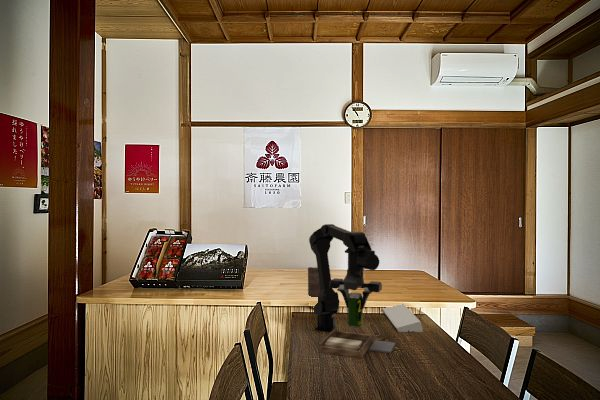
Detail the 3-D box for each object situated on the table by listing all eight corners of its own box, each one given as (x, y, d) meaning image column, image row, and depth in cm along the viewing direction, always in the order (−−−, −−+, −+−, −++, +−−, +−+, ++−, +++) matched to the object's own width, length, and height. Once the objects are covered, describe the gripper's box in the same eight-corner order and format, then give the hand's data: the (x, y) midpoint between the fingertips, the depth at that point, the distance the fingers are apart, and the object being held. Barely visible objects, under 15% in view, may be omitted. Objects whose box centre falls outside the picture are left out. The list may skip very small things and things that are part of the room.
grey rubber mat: (369, 350, 159) (369, 348, 159) (375, 341, 168) (375, 340, 168) (390, 353, 156) (390, 351, 156) (395, 344, 165) (395, 342, 165)
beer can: (345, 327, 165) (346, 294, 164) (349, 323, 170) (350, 291, 169) (360, 329, 163) (360, 296, 162) (363, 325, 168) (364, 293, 167)
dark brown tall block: (305, 308, 215) (305, 267, 215) (310, 305, 222) (310, 265, 222) (320, 310, 212) (321, 268, 212) (325, 306, 219) (325, 266, 219)
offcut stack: (324, 350, 158) (324, 340, 158) (329, 346, 163) (329, 336, 163) (359, 356, 153) (359, 345, 153) (363, 350, 158) (363, 340, 158)
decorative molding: (399, 339, 181) (423, 332, 181) (396, 328, 181) (420, 321, 181) (383, 316, 215) (403, 310, 215) (380, 306, 215) (400, 300, 215)
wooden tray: (318, 352, 157) (318, 343, 157) (335, 335, 175) (335, 328, 175) (362, 358, 151) (362, 349, 151) (374, 340, 169) (374, 332, 169)
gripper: (324, 267, 162) (324, 310, 162) (375, 271, 155) (375, 316, 155) (334, 263, 172) (333, 303, 172) (382, 266, 165) (381, 308, 165)
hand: (355, 308), depth 166 cm, fingers closed on beer can, 5 cm apart
